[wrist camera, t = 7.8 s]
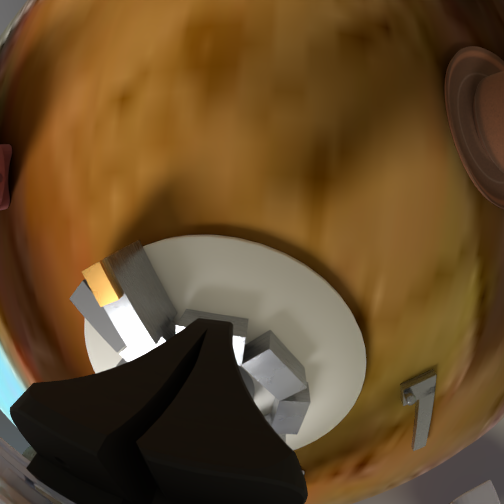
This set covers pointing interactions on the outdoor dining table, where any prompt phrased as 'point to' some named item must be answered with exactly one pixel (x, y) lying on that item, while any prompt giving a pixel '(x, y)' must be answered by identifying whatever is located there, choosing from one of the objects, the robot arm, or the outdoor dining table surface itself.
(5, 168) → the mechanical component
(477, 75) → the cup and saucer
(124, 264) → the grey block crown
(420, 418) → the pin spanner
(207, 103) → the outdoor dining table surface
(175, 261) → the white round disc
